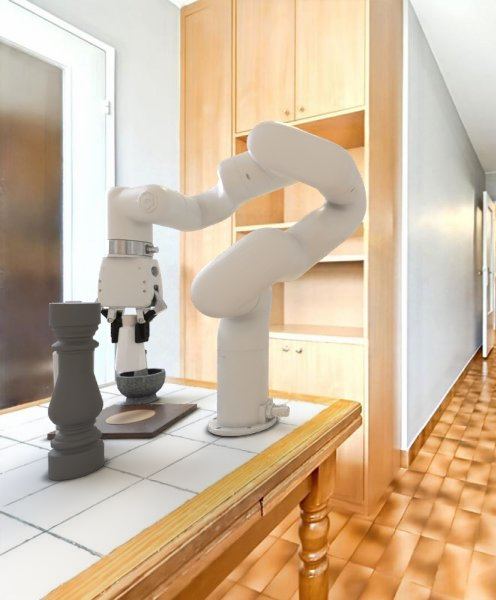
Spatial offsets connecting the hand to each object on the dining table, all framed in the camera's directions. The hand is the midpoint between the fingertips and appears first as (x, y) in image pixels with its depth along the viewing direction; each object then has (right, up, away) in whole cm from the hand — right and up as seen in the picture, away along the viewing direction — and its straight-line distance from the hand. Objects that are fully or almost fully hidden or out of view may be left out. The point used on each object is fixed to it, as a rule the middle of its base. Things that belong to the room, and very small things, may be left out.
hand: (130, 341), depth 70 cm
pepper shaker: (0, -6, 0) cm, 6 cm away
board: (0, -16, 0) cm, 16 cm away
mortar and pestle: (-8, -16, +14) cm, 23 cm away
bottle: (0, -17, -12) cm, 21 cm away
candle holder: (+6, -17, -18) cm, 26 cm away
